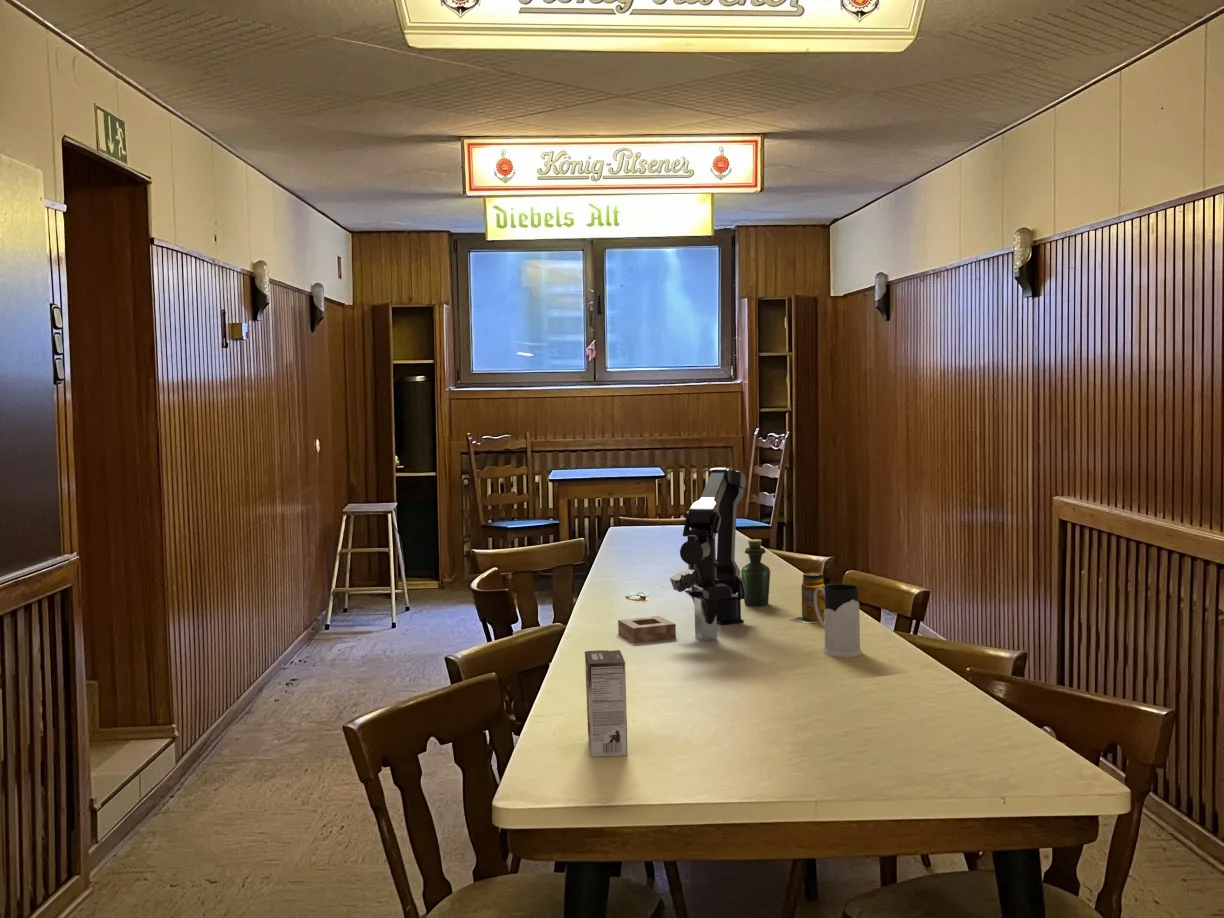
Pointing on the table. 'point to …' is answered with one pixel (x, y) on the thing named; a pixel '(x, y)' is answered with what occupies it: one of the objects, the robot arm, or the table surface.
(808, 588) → the condiment
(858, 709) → the table surface
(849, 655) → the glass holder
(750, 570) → the potion bottle
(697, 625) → the grey long rectangular block
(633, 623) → the block
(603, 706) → the coffee box
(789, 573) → the table surface
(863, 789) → the table surface
